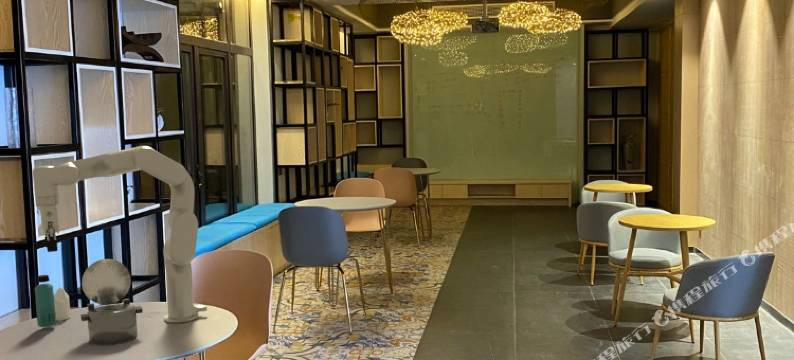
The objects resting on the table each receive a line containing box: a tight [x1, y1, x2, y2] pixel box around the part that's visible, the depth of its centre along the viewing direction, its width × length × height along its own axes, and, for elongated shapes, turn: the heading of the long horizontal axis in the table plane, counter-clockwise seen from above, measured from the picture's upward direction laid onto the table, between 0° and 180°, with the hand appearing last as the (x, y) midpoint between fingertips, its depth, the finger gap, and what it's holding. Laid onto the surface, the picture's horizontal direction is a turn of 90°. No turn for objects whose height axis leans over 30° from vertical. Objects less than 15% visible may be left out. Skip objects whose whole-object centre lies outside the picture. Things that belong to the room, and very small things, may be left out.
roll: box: [54, 287, 71, 322], centre depth 300 cm, size 6×12×6 cm
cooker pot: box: [80, 298, 144, 346], centre depth 273 cm, size 20×17×11 cm
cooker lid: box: [81, 258, 132, 306], centre depth 281 cm, size 16×16×4 cm
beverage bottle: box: [34, 274, 57, 328], centre depth 286 cm, size 6×7×20 cm
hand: (51, 249), depth 274 cm, fingers open, 9 cm apart
